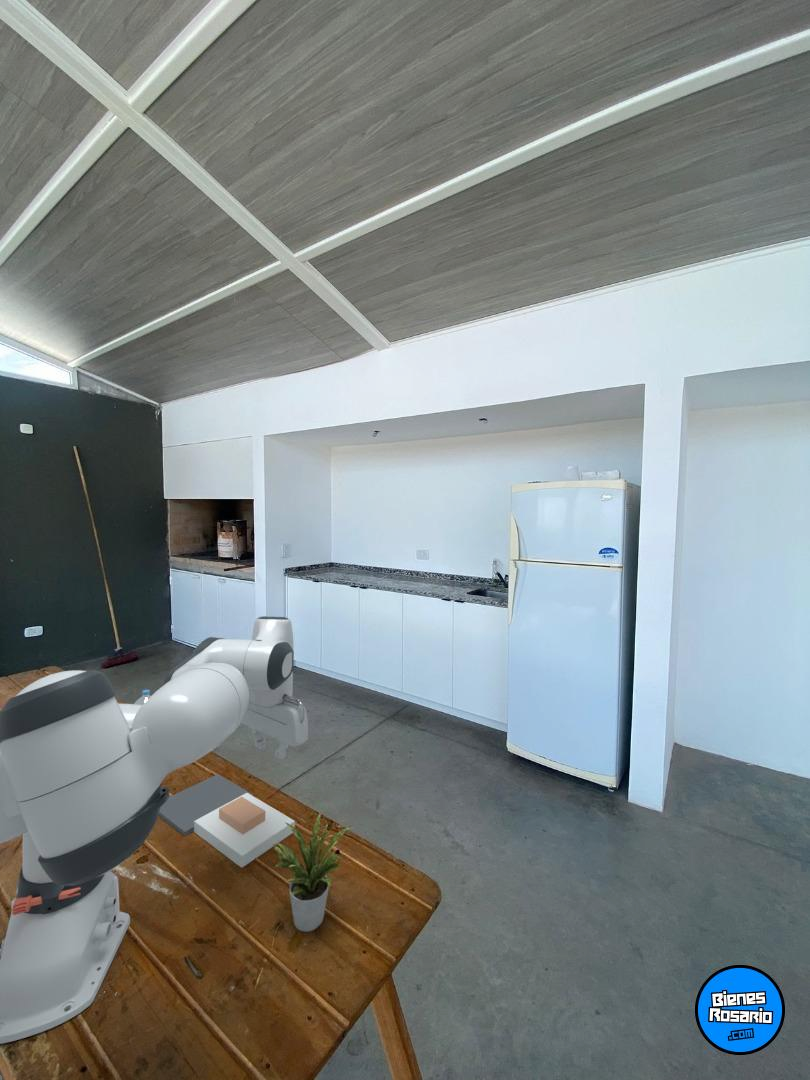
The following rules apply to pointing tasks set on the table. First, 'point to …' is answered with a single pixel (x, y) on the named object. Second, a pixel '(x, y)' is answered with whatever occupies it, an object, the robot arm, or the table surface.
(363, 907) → the table surface
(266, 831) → the white slab
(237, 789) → the rubber mat
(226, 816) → the terracotta tile
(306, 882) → the house plant
